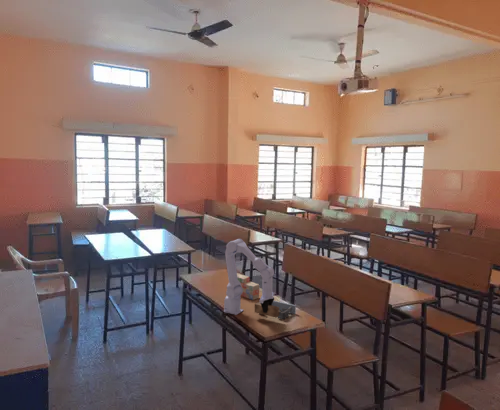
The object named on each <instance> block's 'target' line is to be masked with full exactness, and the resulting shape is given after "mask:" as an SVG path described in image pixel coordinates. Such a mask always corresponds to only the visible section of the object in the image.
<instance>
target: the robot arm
mask: <svg viewBox="0 0 500 410" xmlns="http://www.w3.org/2000/svg"><path fill="white" fill-rule="evenodd" d="M225 247H226V249H225V253H224V255H225V263H226V269H227V278H228V283H227V285H226V292H225V295H226V296H225V298H224V300H223V303H224V304H223V312H224V313H226V314H231V315H235V316H237V315H239V314H240V313H241V312H244V309H243V308H241V307H242V306H241V300H242V298H241V297H242V296H241V294H242V292H243V288H242V286H241V283H240V282H239V281H238V277H237V273H238V271H237V265H236V262H237V261H236V256H235V255H236V254H237V253H239V254H240V253H241V254H244V256H246V257H247V259H249V260H250V261H251V262H252V266H253V267H254V268H255V269H256V270H257V272H259V273H260V276H261V280H262V281H261V282H262V285H261V286H262V287H261V288H262V290H261V297H260V299H259V301H258V302H259V303H260V304H261V306H262V309H263V312H264V313H267V310H268V305H272V303H273V301H275V291H273V281H274V280H273V279H274V278H273V276H274V275H275V269H274V268H273V266H269V265H268V264H267V263H265V262H264V260H263V258H261V257H257V256H256V254H254V253H253V251H252V250H251V249H250V248H249V246H247V243H246V242H245V241H244V240H243V239H242V238H237V239H234V240H231V241H229V242H228V243H226V245H225Z"/></svg>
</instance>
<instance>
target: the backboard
mask: <svg viewBox="0 0 500 410" xmlns="http://www.w3.org/2000/svg"><path fill="white" fill-rule="evenodd" d="M272 305H273V306H277V307H279V311H280V310H281V311H280V312H282V308H287V309H289V314H294V315H296V311H297V310H296V308H297V306H296V304H295V305H294V304H292V303H287V302H283V301H278V300H274V301H273V303H272Z"/></svg>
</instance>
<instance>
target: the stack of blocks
mask: <svg viewBox="0 0 500 410" xmlns="http://www.w3.org/2000/svg"><path fill="white" fill-rule="evenodd" d="M237 277H238V281H239V282H240V283H241V286H242V288H243V292H242V294H241V297H244V298H246V299H248V300H253V301H254V300H256V299H259V298H260V284H259V283H256V282H252V281H250V280H251V279H250V276H248V275H244V274H241V273H238V272H237Z"/></svg>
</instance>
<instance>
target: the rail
mask: <svg viewBox="0 0 500 410" xmlns="http://www.w3.org/2000/svg"><path fill="white" fill-rule="evenodd" d="M279 312H280V310H279V307H277V306H273V305H268V310H267V313H264V312H263V309H262V306H261V304H260V303H259V301H257V302H256V303H255V304H254V313H256V314H258V313H259V314H258V315H262V314H263V316H268V317H271V318H275V319H276V318H277V319H278V316H279Z"/></svg>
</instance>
